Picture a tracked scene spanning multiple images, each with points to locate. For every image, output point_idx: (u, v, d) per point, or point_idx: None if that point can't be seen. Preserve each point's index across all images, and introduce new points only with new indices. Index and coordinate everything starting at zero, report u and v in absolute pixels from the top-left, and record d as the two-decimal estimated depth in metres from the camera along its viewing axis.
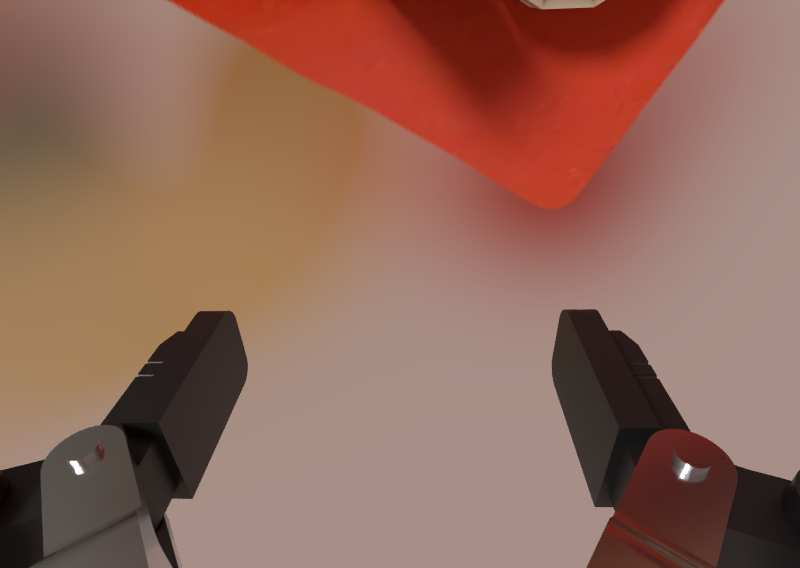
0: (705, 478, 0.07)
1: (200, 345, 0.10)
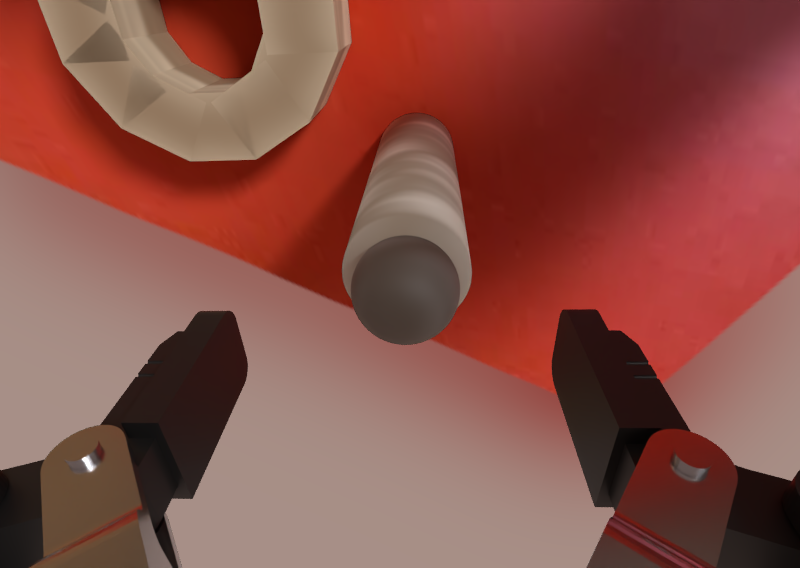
0: (705, 478, 0.07)
1: (200, 345, 0.10)
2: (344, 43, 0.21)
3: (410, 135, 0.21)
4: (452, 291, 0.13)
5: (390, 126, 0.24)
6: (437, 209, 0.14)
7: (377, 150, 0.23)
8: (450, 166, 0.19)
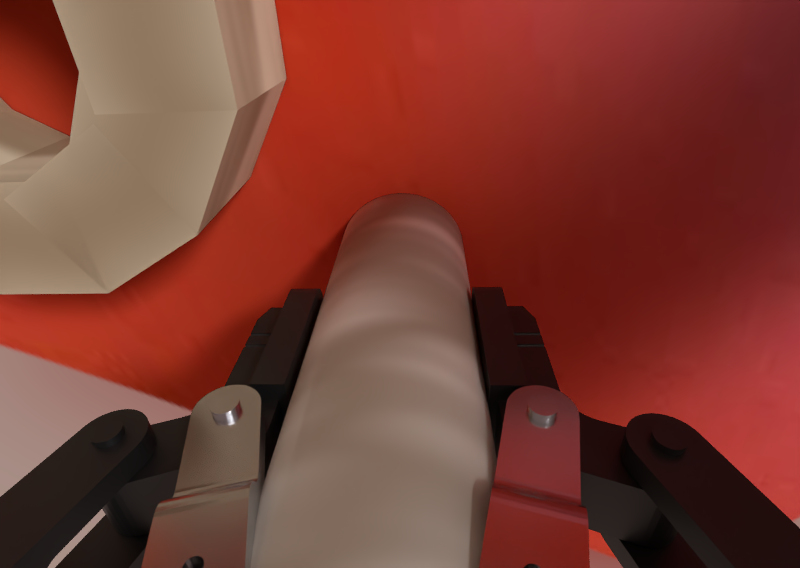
0: (549, 424, 0.08)
1: (302, 318, 0.11)
2: (262, 86, 0.11)
3: (388, 263, 0.11)
4: None
5: (358, 218, 0.14)
6: None
7: None
8: (467, 345, 0.09)
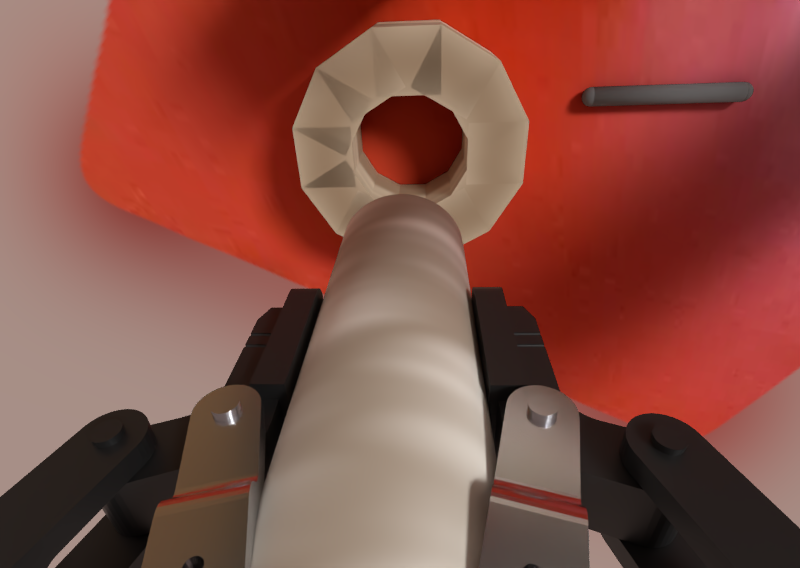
0: (549, 423, 0.08)
1: (302, 318, 0.11)
2: None
3: (388, 264, 0.11)
4: None
5: (358, 219, 0.14)
6: None
7: None
8: (467, 346, 0.09)
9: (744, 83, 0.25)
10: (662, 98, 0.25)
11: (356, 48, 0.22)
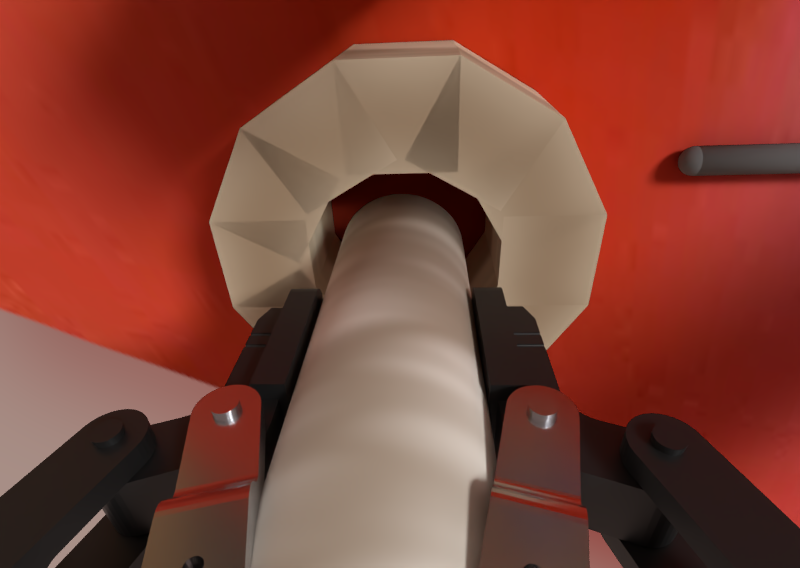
0: (549, 424, 0.08)
1: (302, 318, 0.11)
2: None
3: (388, 264, 0.11)
4: None
5: (358, 219, 0.14)
6: None
7: None
8: (467, 346, 0.09)
9: None
10: None
11: (309, 95, 0.12)
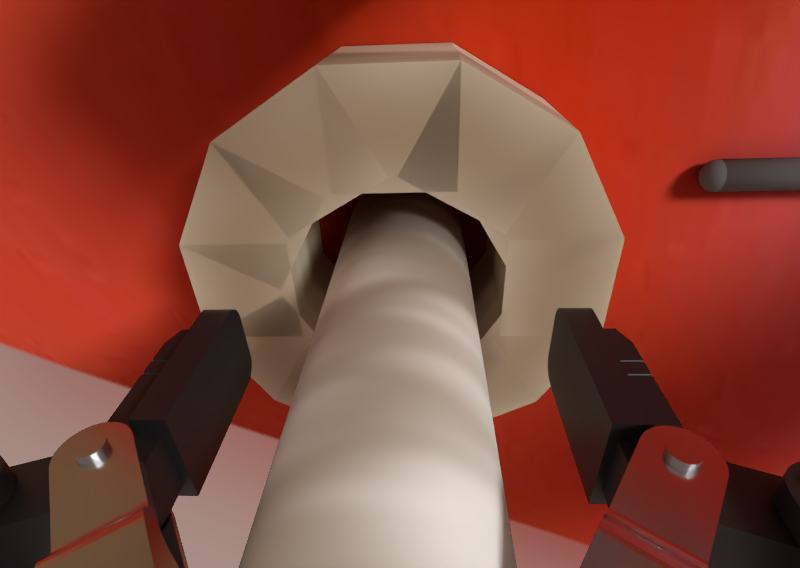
0: (696, 473, 0.07)
1: (205, 343, 0.10)
2: None
3: (393, 234, 0.12)
4: None
5: (364, 199, 0.15)
6: (448, 530, 0.06)
7: None
8: (464, 303, 0.11)
9: None
10: None
11: (288, 106, 0.11)
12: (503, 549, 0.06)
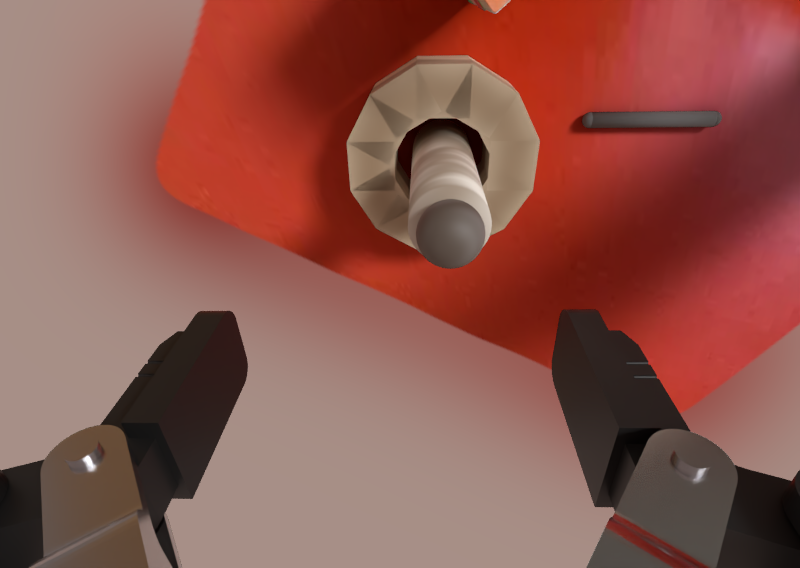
0: (705, 478, 0.07)
1: (200, 345, 0.10)
2: None
3: (442, 136, 0.29)
4: (481, 233, 0.21)
5: (423, 129, 0.32)
6: (470, 184, 0.22)
7: (414, 147, 0.31)
8: (472, 158, 0.27)
9: (714, 112, 0.31)
10: (647, 123, 0.31)
11: (403, 80, 0.27)
12: (484, 197, 0.23)
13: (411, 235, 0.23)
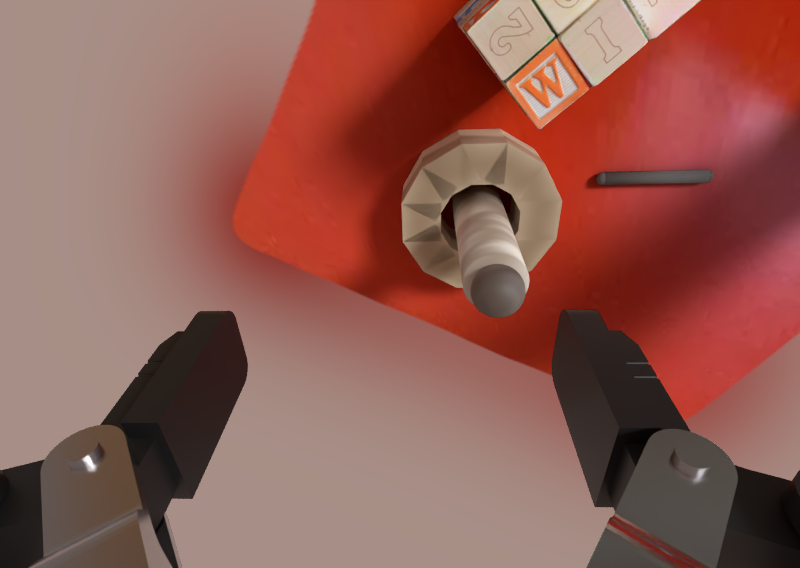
0: (705, 478, 0.07)
1: (200, 345, 0.10)
2: None
3: (481, 199, 0.35)
4: (523, 291, 0.27)
5: None
6: (512, 250, 0.28)
7: (456, 204, 0.37)
8: (507, 219, 0.33)
9: (707, 171, 0.36)
10: (651, 181, 0.37)
11: (450, 156, 0.33)
12: (522, 259, 0.29)
13: (465, 290, 0.29)
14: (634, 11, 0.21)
